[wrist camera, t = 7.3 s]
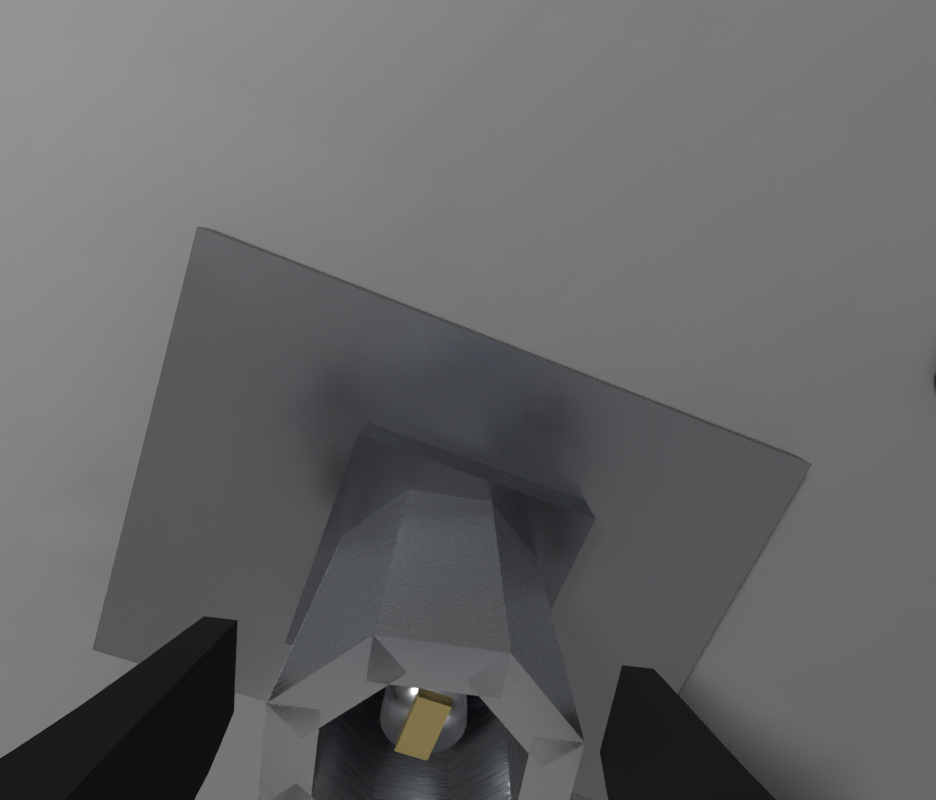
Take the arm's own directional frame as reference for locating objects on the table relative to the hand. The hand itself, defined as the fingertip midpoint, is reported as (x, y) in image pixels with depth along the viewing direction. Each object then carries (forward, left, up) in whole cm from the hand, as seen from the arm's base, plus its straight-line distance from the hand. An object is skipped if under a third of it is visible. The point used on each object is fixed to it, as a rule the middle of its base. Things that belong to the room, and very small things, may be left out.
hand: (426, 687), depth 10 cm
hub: (0, 0, -3) cm, 3 cm away
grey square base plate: (0, 0, -5) cm, 5 cm away
